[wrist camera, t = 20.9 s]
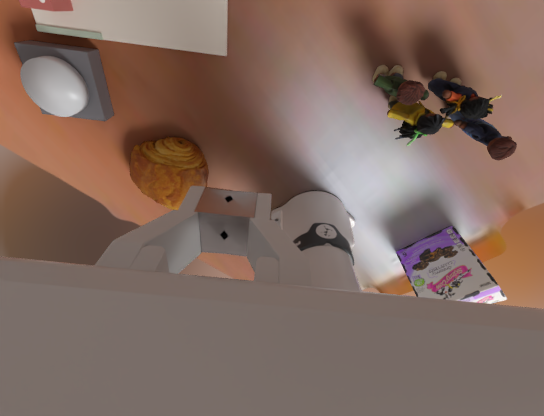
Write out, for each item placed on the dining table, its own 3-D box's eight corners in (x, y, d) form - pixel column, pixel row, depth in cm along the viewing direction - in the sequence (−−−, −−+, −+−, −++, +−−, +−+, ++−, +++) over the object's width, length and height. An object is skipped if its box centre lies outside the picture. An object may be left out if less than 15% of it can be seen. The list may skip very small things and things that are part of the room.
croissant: (221, 146, 52) (216, 161, 45) (198, 210, 59) (191, 231, 52) (145, 116, 48) (127, 127, 42) (130, 187, 55) (113, 207, 48)
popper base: (114, 115, 46) (105, 121, 44) (54, 108, 46) (42, 113, 44) (98, 49, 40) (86, 52, 38) (29, 40, 40) (13, 42, 37)
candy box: (452, 223, 60) (501, 285, 47) (461, 238, 63) (509, 300, 49) (394, 251, 66) (423, 312, 53) (405, 263, 68) (435, 325, 55)
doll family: (509, 75, 42) (588, 99, 31) (477, 131, 47) (535, 168, 36) (363, 61, 41) (393, 81, 30) (348, 120, 46) (369, 154, 36)
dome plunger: (102, 111, 45) (88, 119, 41) (52, 105, 44) (34, 113, 41) (87, 57, 40) (70, 62, 37) (31, 50, 39) (9, 54, 36)
